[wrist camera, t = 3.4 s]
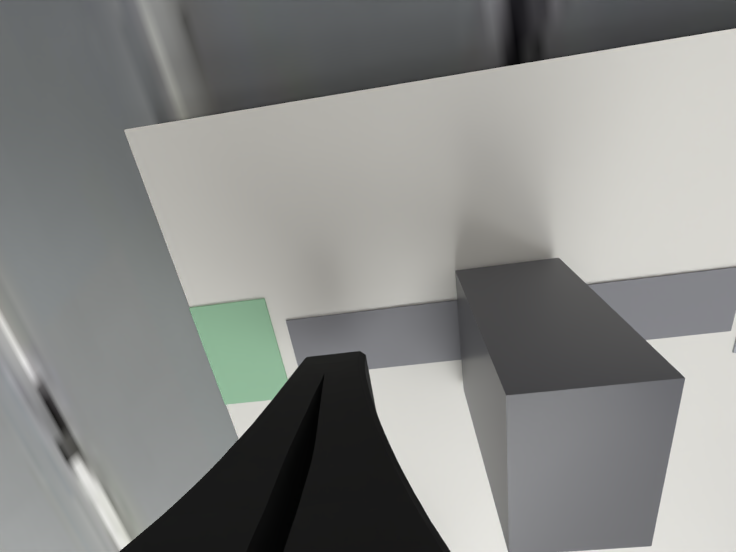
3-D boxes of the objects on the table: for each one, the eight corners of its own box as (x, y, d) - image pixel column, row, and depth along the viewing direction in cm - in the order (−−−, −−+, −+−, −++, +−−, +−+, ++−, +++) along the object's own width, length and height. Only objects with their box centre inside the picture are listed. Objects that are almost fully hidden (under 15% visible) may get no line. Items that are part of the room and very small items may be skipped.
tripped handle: (558, 257, 10) (685, 377, 6) (553, 381, 11) (651, 546, 7) (455, 270, 10) (506, 395, 6) (463, 389, 11) (509, 555, 7)
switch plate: (860, 7, 9) (950, -7, 7) (682, 628, 19) (707, 673, 17) (157, 124, 10) (122, 130, 9) (334, 645, 20) (330, 687, 19)
